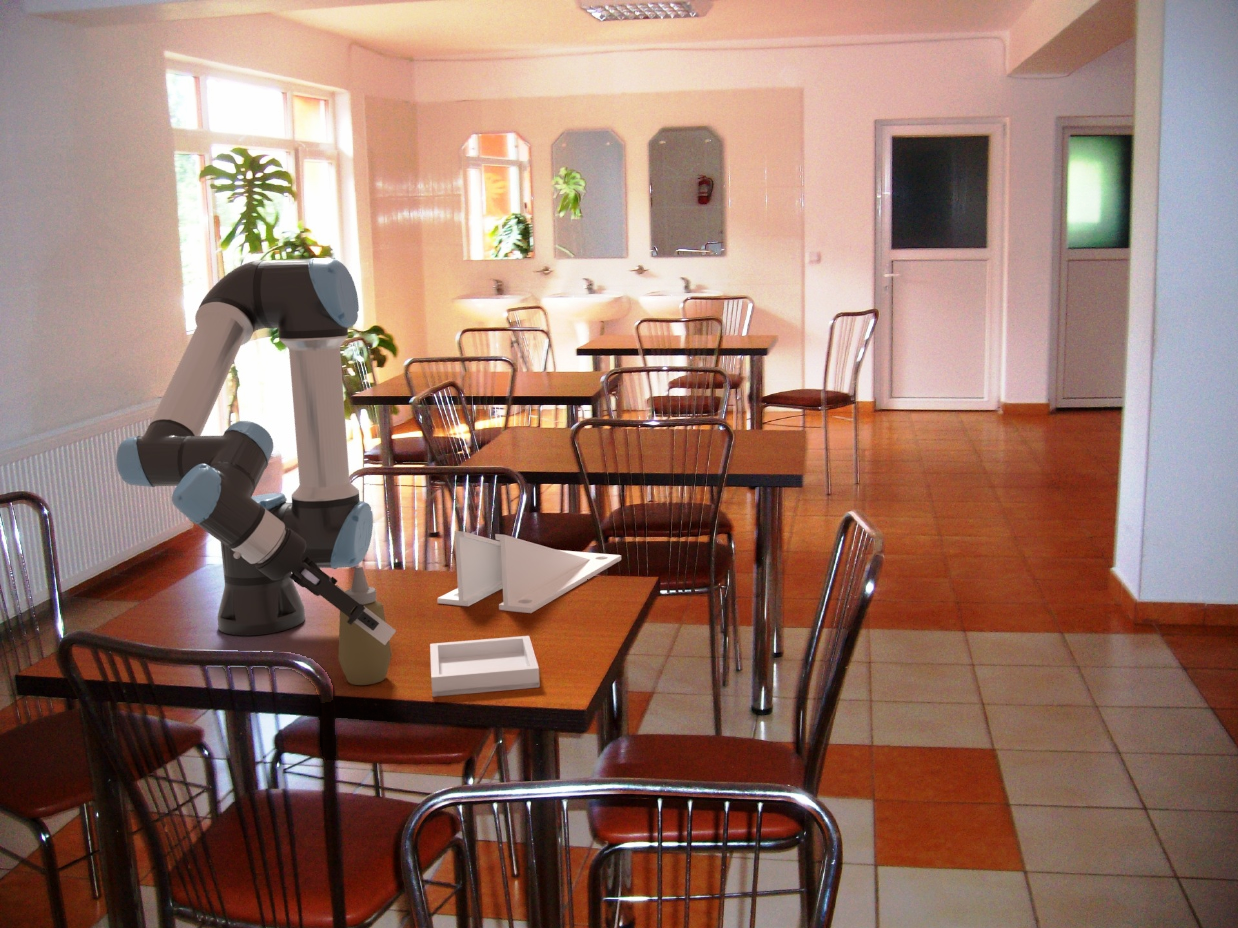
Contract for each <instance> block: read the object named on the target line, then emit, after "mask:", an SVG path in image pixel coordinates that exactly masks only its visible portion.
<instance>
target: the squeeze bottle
mask: <svg viewBox="0 0 1238 928" xmlns="http://www.w3.org/2000/svg"><path fill="white" fill-rule="evenodd" d="M345 593H346V594H347V595H349V596H350V597H351V598H353V599H354V600H355V601H357V602H358V603H359V604H362V605H363V606H365V607H366V608H367V609H369V610H370V611H371V612H373V613H374V614H375V615H376V616H378V617H379V618H380V619H382V620H383V621H384V622H386V623H387V621H386V615H385V609H384V605H383V604H382V602H380V601H379V600H377V590H376V588H375V587H373V586H369V584H368V580H367V577H366V575H365V570H364V568H363V566H354V571H353V577H352V584H351V587H350V588H349V589H346V592H345ZM355 607H356V606H355ZM355 607H354V608H355ZM354 608H353V609H354ZM353 609H352V610H353ZM352 610H351V612H352ZM351 612H350V613H351ZM348 620H349V617H348V616H347V615H345V614H344V613H343V612H342V611H340V610H339V624H338V625H339V627H338V629H339V631H338V632H339V633H338V663H339V665H340V667H341V669H342V671H343V675H344V676H345V679H346V681H347V683H349V684H351V685H356V686H367V685H375V684H378V683H380V682H382V681H384V680H385V679H386V677H387V674H388V669H389V666H390V664H391V663H390V662H391V658H392V648H391V644H390V640H389V641H388V642H387V643H386V645H384V644H383V643H381V642H380V641H379V640H377V639H376V638H375V637H373V636H372V635H371V634H369V633H368V632H367V631H365V630H364V629H363V628H361V627H360V626H359V625H357V624H356V623H355V622H353V623H352V625H350V624H349V623H347V621H348Z"/></svg>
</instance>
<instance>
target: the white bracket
mask: <svg viewBox="0 0 1238 928" xmlns="http://www.w3.org/2000/svg"><path fill="white" fill-rule="evenodd" d="M494 536H495V539H491V538H488V537H486V536H485V537H484V536H481V535H477V534H474V533H470V532H466V531H458V530H455V531H454V542H455V543H454V544H455V559H456V562H455V563H456V577H457V579H456V580H457V588H455V589H453V590H451V591H449V592H447V593H445V594H443V595H441V596H439V597H437V598H436V599H437V604H442V605H443V604H444V605H450V606H452V605H453V606H461V607H470V606H472V605H473V604H476V603H477V602H479V601H481V600H483V599H485V598H487V597H489V596H491V595H492V594H495V593H497V592H499V591H500V590H502V600H503V601H502V602H501V603H499V604H498V610H499V611H506V612H507V611H508V612H514V613H515V612H516V613H524V614H527V613H528V614H532V613H534V612H535V611H537V610H538V609H540V608H542V607H544V606H546V605H547V604H549V603H551V602H553V601H554V600H555V599H558V598H559V597H561V596H562V595H564V594H566V593H567V592H570V591H571V590H572V589H574V588H576V587H579V585H581V584H583V583H585V582H587V581H588V580H590V579H591V578H593V577H594V576H597V575H598V574H600V573H601V572H603V571H605V570H607V569H608V568H610V567H612V566H613V565H615V564H617V563H618V562H620V561H622V555H620V554H609V553H599V552H587V551H586V552H585V551H576V550H575V551H572V550H561V549H555V548H551V547H548V546H544V545H541V544H538V543H534V542H530V541H528V540H527V541H526V540H524V539H520V538H517V537H514V536H510V535H507V534H502V533H501V534H498V533H495V534H494ZM587 579H588V580H587Z"/></svg>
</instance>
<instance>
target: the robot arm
mask: <svg viewBox="0 0 1238 928" xmlns="http://www.w3.org/2000/svg"><path fill="white" fill-rule="evenodd" d="M349 271H350V270H349V269H348V268H347V267H346V265H345V264H344V263H342V262H341V261H339V260H337V259H335V258H334V259H333V258H318V257H313V258H298V259H296V258H295V259H292V258H291V259H272V260H270V259H269V260H267V259H261V260H260V259H259V260H254V261H250V262H246V263H244V264H241V265H239V266H237V267H236V268H233V270H231V271H230V272H228V273H227V274H226V275H224V276H223V277H222V278H221V279H220V280H218V282H217V283H215V285H214V286H212V287H211V289H210V290H209V291H208V292H207V293H206V295H205V296H204V298H203V299H202V301H201V302H200V305H199V307H198V309H197V311H196V313H195V316H194V320H195V324H196V325H195V326H196V328H195V329H194V331H193V334H192V335H191V338H190V339H189V342H188V345H187V346H186V348H185V350H184V353H183V355H182V356H181V358H180V361H179V363H178V365H177V367H176V369H175V371H174V374H172V377H171V380H170V382H169V384H168V385H167V388H166V389H165V392H164V394H163V396H162V397H161V399H160V402H159V404H158V407H157V408H156V411H155V412H154V415H153V416H152V418H151V421H150V423H149V424H148V426H147V428H146V430H145V433H144V434H143V435H136V436H130V437H127V438H125V439H124V440H122V441H121V442H120V443H119V446H118V448H117V452H116V458H115V461H116V468H117V472H118V475H120V476H121V480H122V481H124V483H126V484H127V485H130V486H134V487H135V486H136V487H137V486H138V487H150V488H155V487H175V489H173V492H172V496H171V503H172V505H173V506H174V507H175V508H176V509H177V510H178V511H179V512H180V513H182V515H184V516H185V517H186V518H187V519H188V520H189V521H190V523H193V524H195V525H197V526H198V527H199V528H201V530H203V531H205V532H206V533H208V534H209V535H211V536H212V537H213V538H215V539H216V540H218V541H219V542H220V547H221V548H220V550H221V559H222V570H223V580H224V587H223V592H222V596H221V601H220V605H219V609H218V613H217V625H218V626H217V628H218V630H219V631H220V632H222V633H223V634H227V635H232V636H259V635H261V636H262V635H268V634H273V633H279V632H282V631H283V632H284V631H286V630H290V629H292V628H295V627H297V626H300V625H301V624H302V623H304V621H305V620H306V614H305V605H304V603H303V600H302V598H301V596H300V594H299V592H298V590H297V587H296V585H295V584H297V585H299V586H300V587H301V588H305V589H306V590H307V591H309V592H310V593H312V594H313V595H314V596H316V597H318V596H319V597H320V596H321V597H322V598H323V599H324V600H326V601H327V602H328V603H330V604H331V605H332V606H334V608H336V609H337V610H339V612H340V611H342V612H343V613H344V614H345V615H347V616H348V617H349V620H348V621H347V623H349V624H350V625H352V623H353V622H355V623H356V624H357V625H359V626H360V627H361V628H363V629H364V630H365V631H367V632H368V633H369V634H371V635H372V636H373V637H375V638H376V639H377V640H379V641H380V642H381V643H383V644H384V645H386V643H387V642H388V641H389V642H390V639H391V638H392V637H393V636H394V634H395V633H396V632H397V630H396V629H395V628H394V627H393V626H391V625H390V624H388V623H387V621H386V622H384V621H383V620H382V619H380V618H379V617H378V616H376V615H375V614H374V613H373V612H371V611H370V610H369V609H367V608H366V607H365V606H363V605H362V604H359V603H358V602H357V601H355V600H354V599H353V598H351V597H350V596H349V595H347V594H346V593H345V592H346V591H347V590H346V591H345V590H344V589H343V588H341V587H340V586H339V585H338V584H337V583H338V581H339V580H338V579H336V578H335V577H334V576H330V575H328V574H327V573H325V571H323V569H332V570H338V569H343V568H346V569H347V568H355V567H358V565H359V564H361V563H362V562H363V560H365V557H366V556H367V553H368V551H369V548H370V544H371V541H372V535H373V529H374V517H373V516H374V515H373V511H372V507H371V505H370V504H369V503H368V502H365V501H362V500H360V490H359V489H358V488H357V486H355V485H354V484H352V482H351V481H350V470H349V456H348V455H349V454H348V442H347V441H348V440H347V427H346V413H345V401H344V398H345V396H344V384H343V383H344V382H343V371H342V370H343V369H342V359H341V357H342V356H341V346H342V344H343V343H344V342H345V341H346V340H347V338H349V330H348V329H349V328H351V327H353V326H354V325H355V324H357V321H358V318H359V313H358V312H359V311H360V310H359V309H360V307H359V297H358V292H357V289H356V285H355V284H356V283H355V281H354V279H353V277H352V275H351V273H350V272H349ZM262 329H277V330H278V340H279V341H280V342H281V343H282V345H285V347H287V349H288V350H289V351H288V353H289V355H288V356H289V364H290V378H291V391H292V393H291V394H292V403H293V405H292V406H293V416H294V431H295V442H296V455H297V467H298V468H297V469H298V471H297V472H298V481H299V482H298V483H299V486H298V487H297V488H296V489H295V490H294V491H293V493H292V494H291V502H287V501H288V500H287V497H286V495H285V493H283V492H272V493H264V494H263V493H262V494H258V495H254V493H255V490H256V488H257V486H258V485H259V483H260V481H261V478H262V476H263V475H264V472H265V470H266V469H267V468H268V466H269V461H270V458H271V456H272V453H273V450H274V442H273V438H272V437H271V435H270V433H269V431H268V430H266V428H264V427H263V426H262V425H260V424H258V423H256V422H253V421H249V420H239V421H236V422H235V423H232V424H230V425H229V426H228V428H227V429H226V430H225V431H224V433H223V435H202V433H203V431H204V428H205V426H206V424H207V422H208V420H209V418H210V416H211V413H212V410H213V409H214V406H215V404H216V402H217V401H218V397H219V395H220V393H221V390H223V389H222V388H223V386H224V384H225V382H226V379H227V377H228V375H229V373H230V371H231V369H232V366H233V364H234V361H235V360H236V357H237V355H238V353H239V350H240V348H241V346H243V345H245V344H247V343H248V342H249V341H250V340H251V338H253V337H252V336H253V334H254V333H255V332H257V331H258V330H262ZM355 606H356V607H355ZM354 607H355V608H354ZM353 608H354V609H353ZM352 609H353V610H352ZM351 610H352V612H351ZM350 612H351V613H350Z"/></svg>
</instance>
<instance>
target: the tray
mask: <svg viewBox="0 0 1238 928" xmlns="http://www.w3.org/2000/svg"><path fill="white" fill-rule="evenodd" d="M429 647H430V648H429V650H430V651H429V652H430V654H429V655H430V674H431V675H430V677H431V678H430V679H431V695H432V697H433V698H434V697H435V698H436V697H444V696H456V695H467V694H478V693H489V692H500V691H511V690H521V689H522V690H525V689H534V688H535V689H536V688H540V686H541V685H540V684H541V683H540V668H539V663H538V660H537V658H536V655H535V651H534V648H533V644H532V641H531V638H530V635H522V636H509V637H499V638H498V637H497V638H485V639H484V638H483V639H474V640H473V639H471V640H470V639H469V640H460V641H449V642H448V641H447V642H436V643H429Z"/></svg>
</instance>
